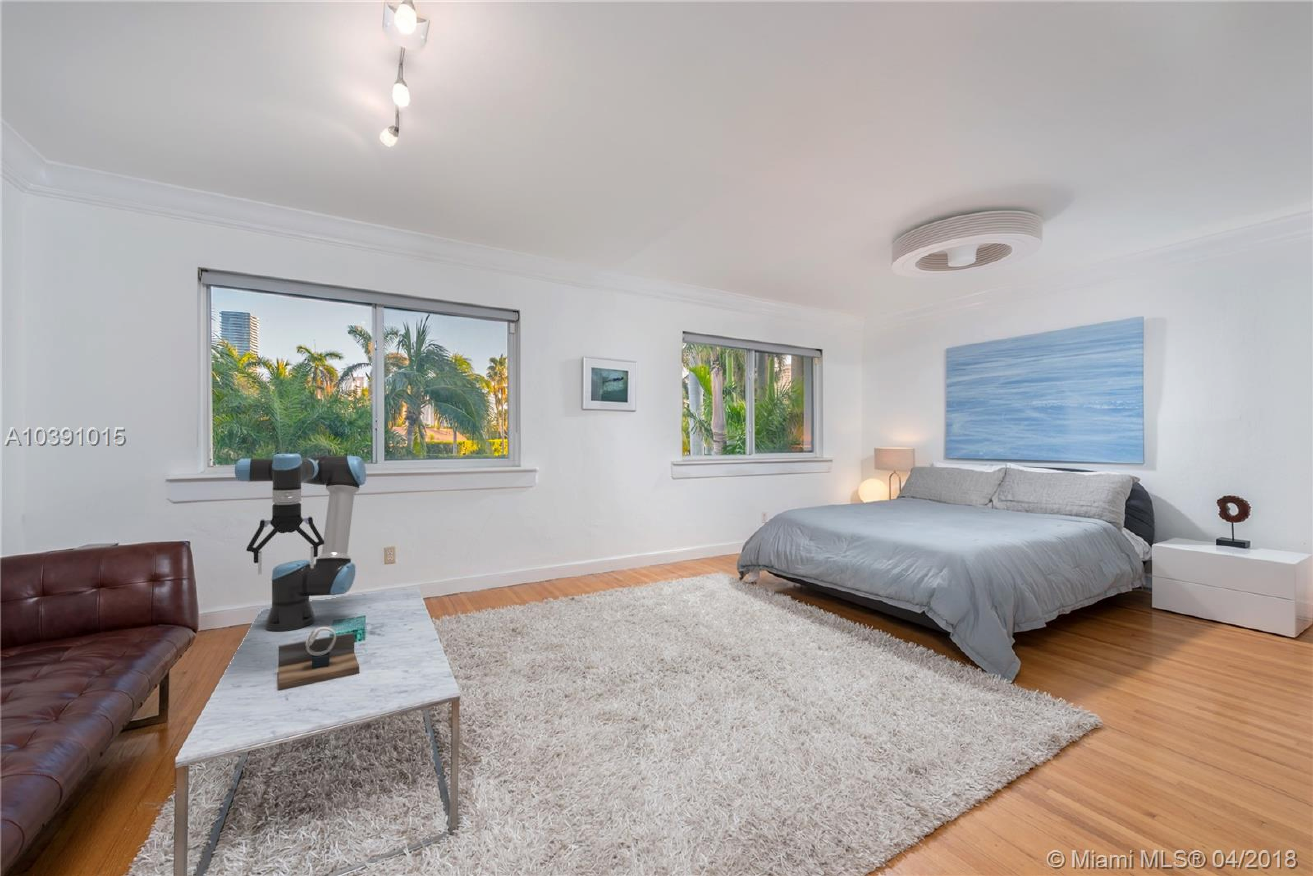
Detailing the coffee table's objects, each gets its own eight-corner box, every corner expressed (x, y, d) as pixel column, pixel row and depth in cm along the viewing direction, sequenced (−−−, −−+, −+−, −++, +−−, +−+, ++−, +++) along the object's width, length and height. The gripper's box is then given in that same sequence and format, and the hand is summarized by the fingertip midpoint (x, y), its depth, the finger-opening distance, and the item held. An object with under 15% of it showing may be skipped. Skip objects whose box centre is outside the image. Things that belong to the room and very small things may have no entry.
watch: (305, 663, 167) (305, 627, 167) (336, 658, 170) (336, 623, 170) (304, 670, 162) (304, 633, 162) (335, 665, 166) (335, 629, 165)
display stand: (278, 672, 165) (278, 645, 165) (353, 657, 176) (353, 632, 176) (278, 690, 154) (278, 661, 153) (359, 673, 165) (359, 646, 165)
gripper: (236, 507, 162) (235, 578, 162) (333, 501, 176) (333, 567, 176) (237, 504, 168) (237, 573, 168) (331, 499, 182) (331, 562, 183)
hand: (286, 570), depth 172 cm, fingers open, 13 cm apart
